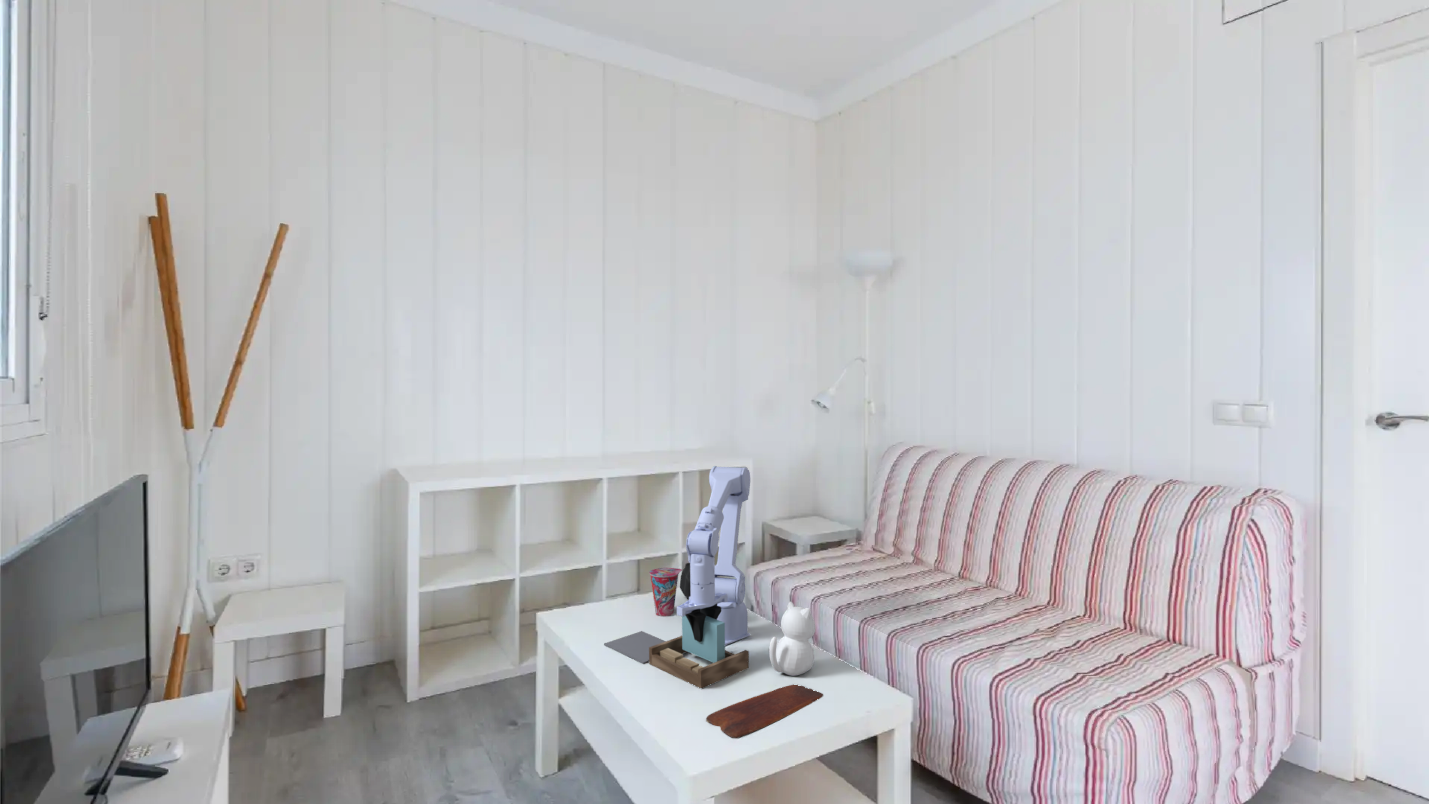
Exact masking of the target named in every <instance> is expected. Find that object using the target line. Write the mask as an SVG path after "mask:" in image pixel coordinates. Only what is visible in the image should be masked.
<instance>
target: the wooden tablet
mask: <svg viewBox="0 0 1429 804" xmlns="http://www.w3.org/2000/svg"><path fill="white" fill-rule="evenodd" d="M798 685H799V684H797V685H794V684H789V685H786V686H782V688H781V687H779V688H776V689H773V690H770V691H767V692H765V693H762V694H758V695H755V696H753V697H750V698H746V699H744V700H742V701H739V702H736V703H733V704H730V705H728V706H726V707H724V708H720V709H718V710H716V711H714V712H712V713H710V714H708V715H707V716H706V718H705V722H707V723H708V724H710V725H711V726H714V727H719V729H720V731H721V732H722V733H723V734H725V735H726V736H727V737H728V738H729V737H730V738H731V739H738V738H741V737H743V736H747V735H749V734H752V733H753V732H755V731H758V730H761V729H763V728H765V727H767V726H769V725H772V724H773V723H776V722H778V721H780V720H782V719H784V718H787V716H790V715H792V714H795V713H797V712H798V711H800V710H803V708H806V707H807V706H809V705H811V704H813V703H815V702H816V701H818V700H820V699H821V698H823V697H824V693H822V692H820V691H818V692H817V690H815V691H813V690H814V689H812V688H809V689H808V687H806V686H803V685H801V686H798ZM805 687H806V688H805ZM817 699H818V700H817Z"/></svg>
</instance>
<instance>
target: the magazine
mask: <svg viewBox="0 0 1429 804" xmlns="http://www.w3.org/2000/svg"><path fill="white" fill-rule="evenodd" d="M679 589H680V590H681V592H682V594H683V596H684V597H685V599H686V601H688V600H689V597H690V596H691V586H690V562H686V563H685V565H684V568H683V569H682V571H681V574H680V581H679ZM700 611H701V610H700Z"/></svg>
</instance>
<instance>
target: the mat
mask: <svg viewBox="0 0 1429 804" xmlns="http://www.w3.org/2000/svg"><path fill="white" fill-rule="evenodd" d="M666 641H667V640H663V639H662V638H659V637H657V636H654V635H652V634H650V633H647V632H645V631H643V630H641V631H637V632H635V633H632V634H629V635H626V636H623V637H619V638H616V639H613V640H611V641H608V642H605V643H604V644H603V646H605V647H607V648H609V649H611V650H613V651H615V652H617V653H618V654H619V653H620V654H621V655H624V656H626V657H628V658H630V659H632V660H634V661H636V662H638V663H640V664H642V665H645V664H648V663H649V647H652V646H654V645H657V644H660V643H663V642H666Z"/></svg>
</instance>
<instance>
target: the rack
mask: <svg viewBox="0 0 1429 804" xmlns="http://www.w3.org/2000/svg"><path fill="white" fill-rule="evenodd" d="M665 641H666V642H663V643H660V644H657V645H654V646H652V647H649V662H648V664H649V665H650V666H652V667H655V668H657V669H659V670H661V671H663V672H666V673H667V674H670V675H671V676H673V677H675V678H677V679H679V680H682V681H684V682H686V683H688V682H689V683H688V684H690V685H692V684H693V685H692V686H694V685H695V686H694V687H696V688H698V687H699V688H698V689H700V688H702V689H704V688H706V687H709V686H711V685H713V684H715V682H716V683H718V682H720V681H723V680H725V679H727V678H730V677H732V676H735V675H736V674H739V673H741V672H743V671H745V670H748V669H749V667H750V663H749V662H750V659H749V658H750V657H749V654H750V652H749V650H747V649H744V650H742V651H739V652H736V653H733V652H732V651H728V650H726V649H725V659H722V660H720V661H717V662H715V663H713V662H711V663H710V664H708V665H705V666H702V668H700V669H698V673H696V672H694V671H692V670H690V669H688V668H685V667H683V666H681V665H679V664H677V663H675V662H672V661H670V660H668V659H666V658H664V657H661V656H660V651H661V650H664V649H667V648H669V649H671V650H674V651H676V652H678V653H680V654H683V655H684V654H686V653H688V652H687V651H685V650H683V649H682V635H680V636H677V637H675V638H672V639H669V640H665ZM729 676H730V677H729ZM722 679H723V680H722ZM710 684H711V685H710ZM708 685H709V686H708Z"/></svg>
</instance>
